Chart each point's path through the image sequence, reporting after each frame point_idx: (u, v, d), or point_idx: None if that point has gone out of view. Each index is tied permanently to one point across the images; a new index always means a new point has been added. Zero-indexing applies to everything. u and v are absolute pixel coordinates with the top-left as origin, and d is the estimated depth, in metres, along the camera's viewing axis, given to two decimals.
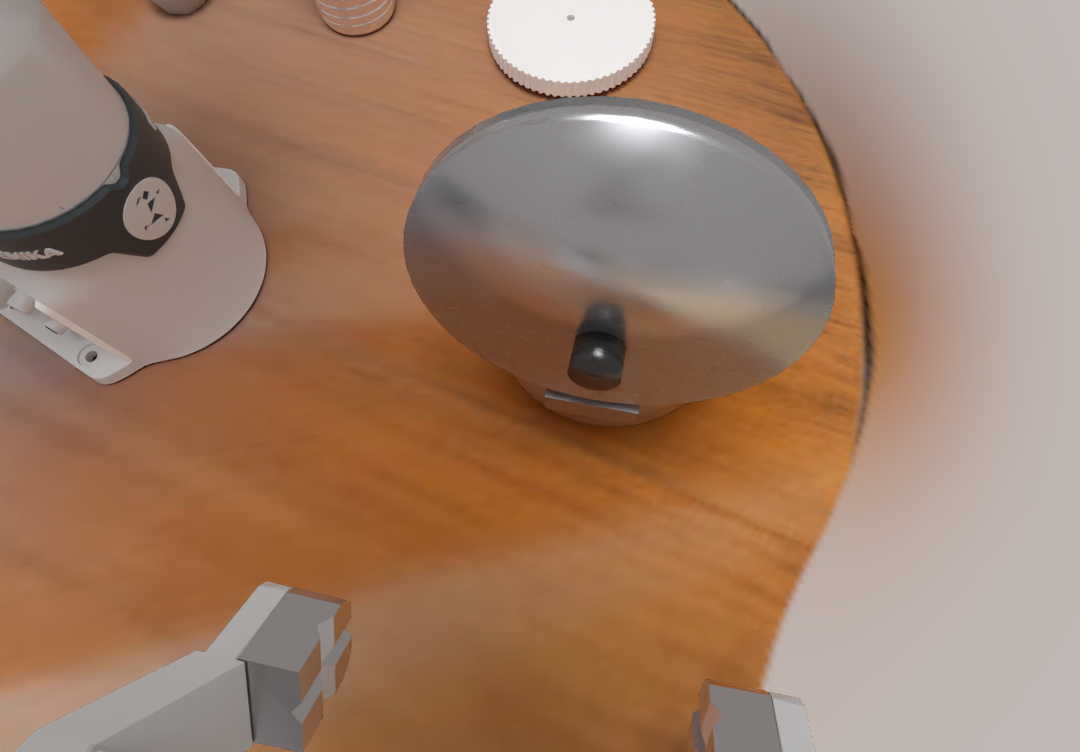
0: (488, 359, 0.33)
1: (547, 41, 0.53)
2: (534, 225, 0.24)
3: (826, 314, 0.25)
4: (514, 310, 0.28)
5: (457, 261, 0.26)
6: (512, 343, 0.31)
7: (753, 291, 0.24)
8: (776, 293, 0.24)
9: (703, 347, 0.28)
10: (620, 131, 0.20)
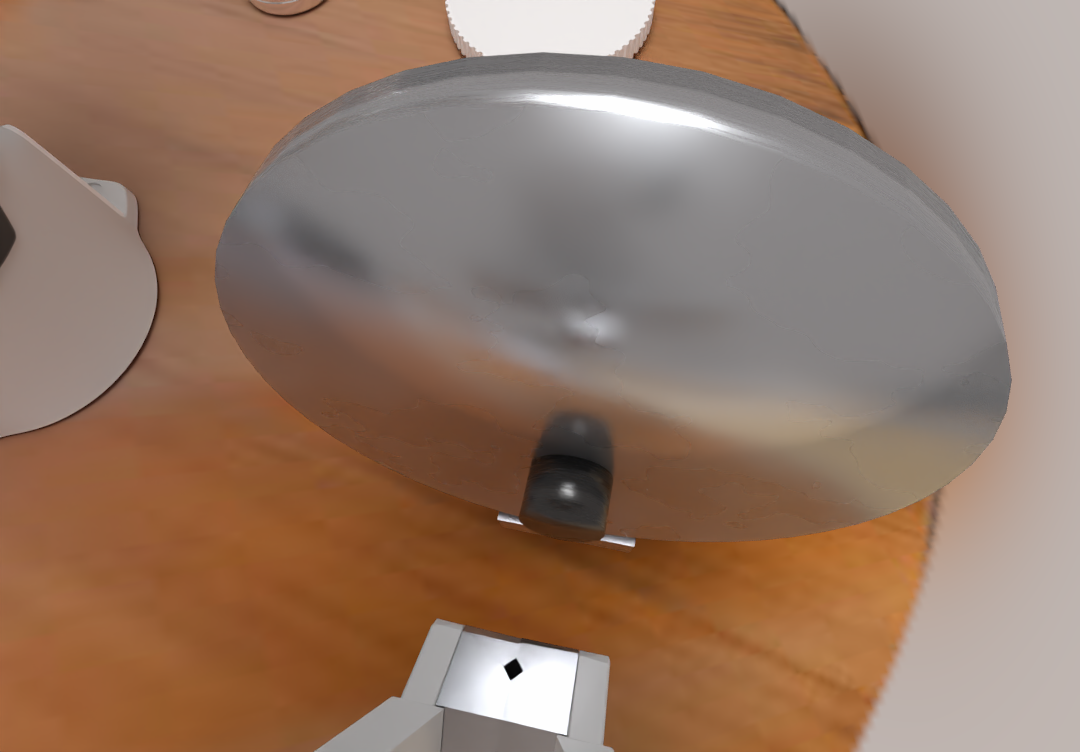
0: (408, 475, 0.22)
1: (520, 20, 0.43)
2: (436, 305, 0.13)
3: (969, 458, 0.14)
4: (431, 422, 0.18)
5: (321, 353, 0.15)
6: (438, 460, 0.20)
7: (840, 419, 0.13)
8: (882, 425, 0.13)
9: (739, 484, 0.17)
10: (584, 129, 0.09)
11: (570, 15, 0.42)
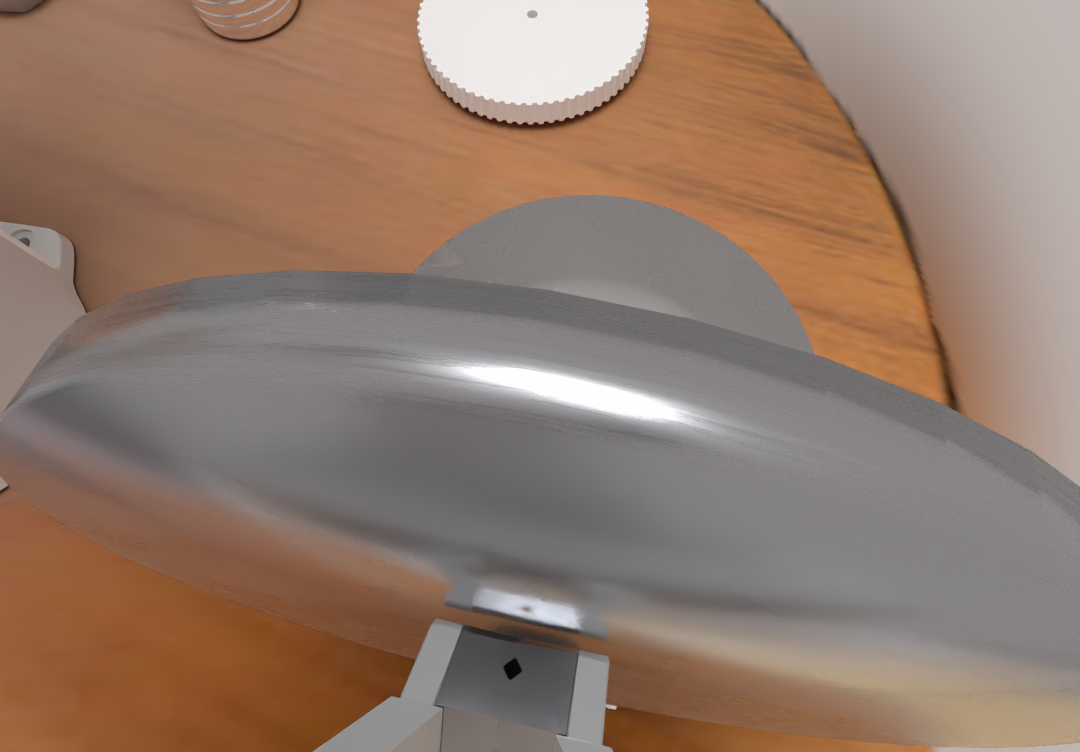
0: (338, 636, 0.18)
1: (499, 47, 0.39)
2: (313, 546, 0.09)
3: (1067, 740, 0.10)
4: (348, 613, 0.14)
5: (186, 556, 0.12)
6: (368, 634, 0.16)
7: (889, 693, 0.09)
8: (948, 705, 0.09)
9: (743, 702, 0.13)
10: (472, 436, 0.05)
11: (554, 42, 0.39)
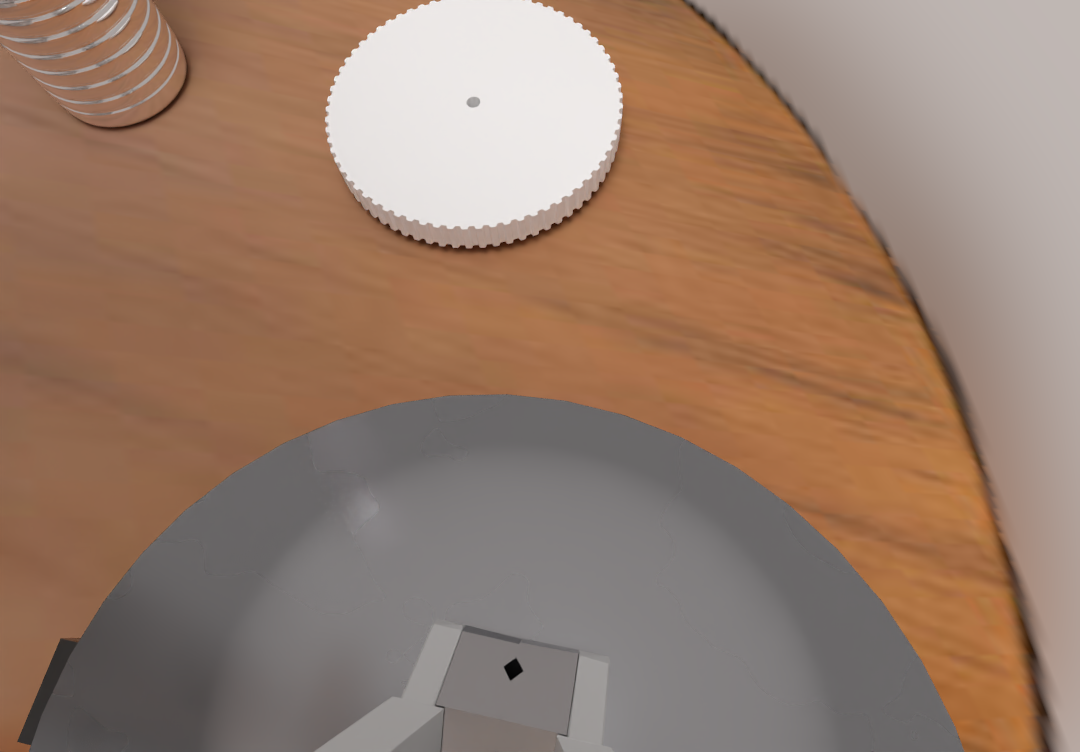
0: None
1: (429, 147, 0.30)
2: (355, 634, 0.12)
3: None
4: None
5: None
6: None
7: None
8: None
9: None
10: (546, 413, 0.12)
11: (500, 141, 0.30)
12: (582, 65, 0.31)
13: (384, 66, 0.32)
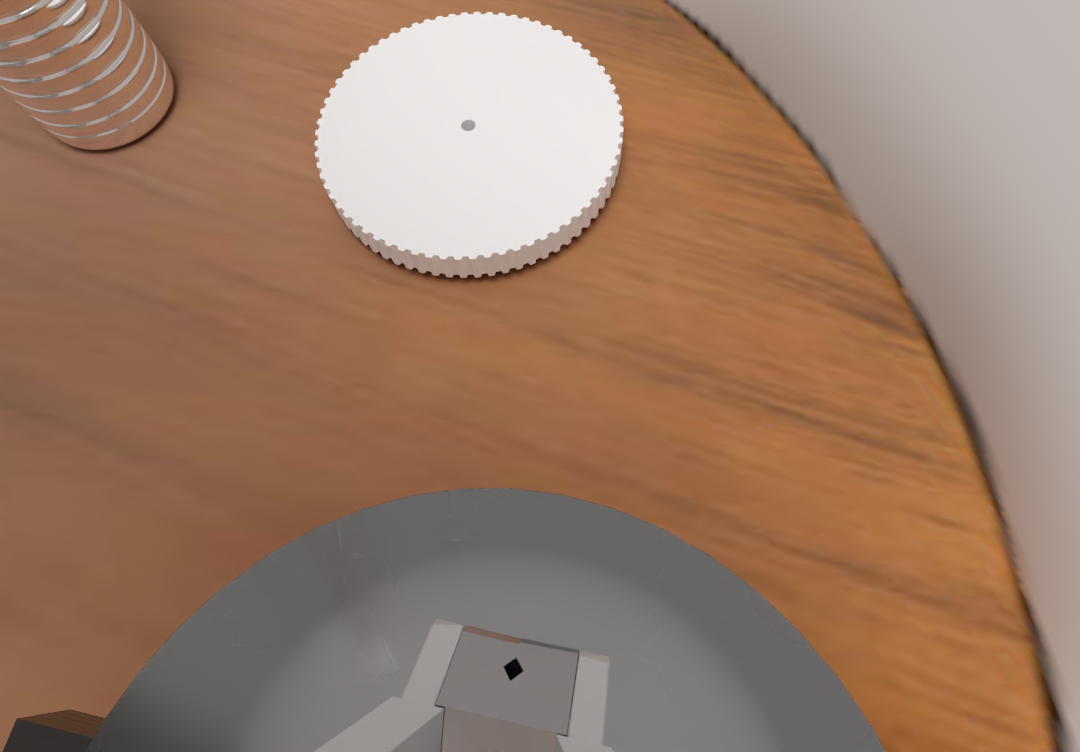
0: None
1: (422, 173, 0.29)
2: (370, 704, 0.13)
3: None
4: None
5: None
6: None
7: None
8: None
9: None
10: (545, 505, 0.14)
11: (496, 166, 0.29)
12: (582, 86, 0.30)
13: (376, 87, 0.31)
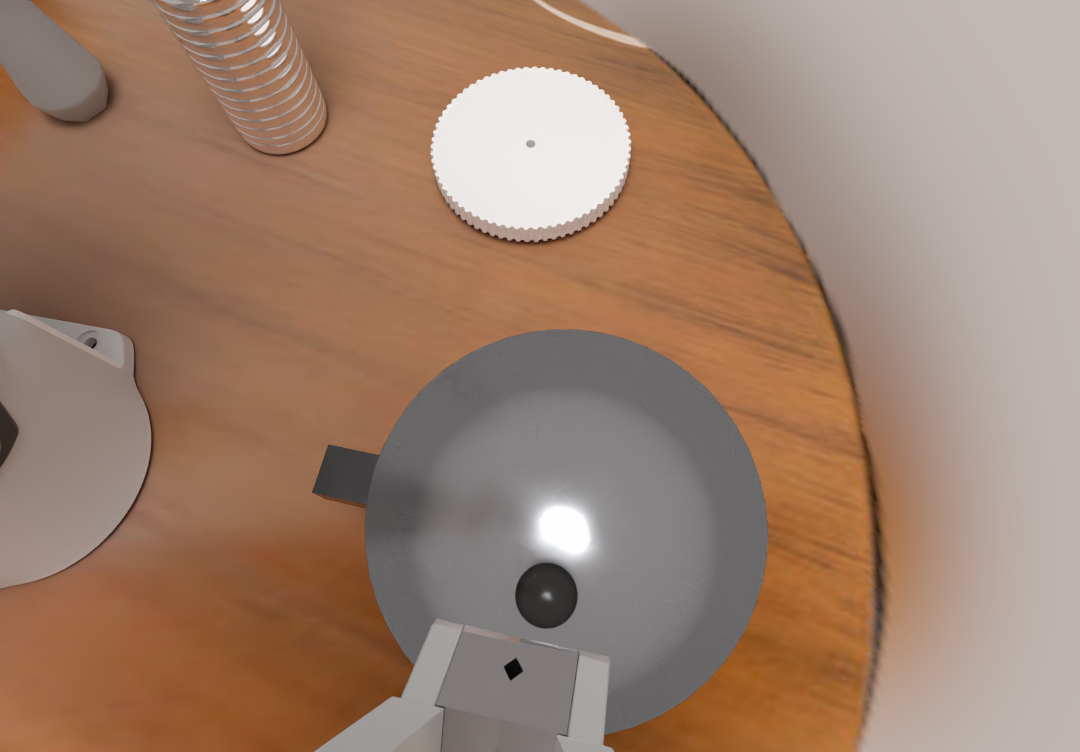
0: (400, 639, 0.26)
1: (502, 174, 0.45)
2: (515, 417, 0.29)
3: (764, 522, 0.27)
4: (464, 534, 0.27)
5: (429, 461, 0.29)
6: (444, 599, 0.27)
7: (697, 492, 0.28)
8: (716, 494, 0.28)
9: (659, 586, 0.26)
10: (592, 337, 0.30)
11: (549, 170, 0.45)
12: (604, 119, 0.46)
13: (469, 117, 0.47)
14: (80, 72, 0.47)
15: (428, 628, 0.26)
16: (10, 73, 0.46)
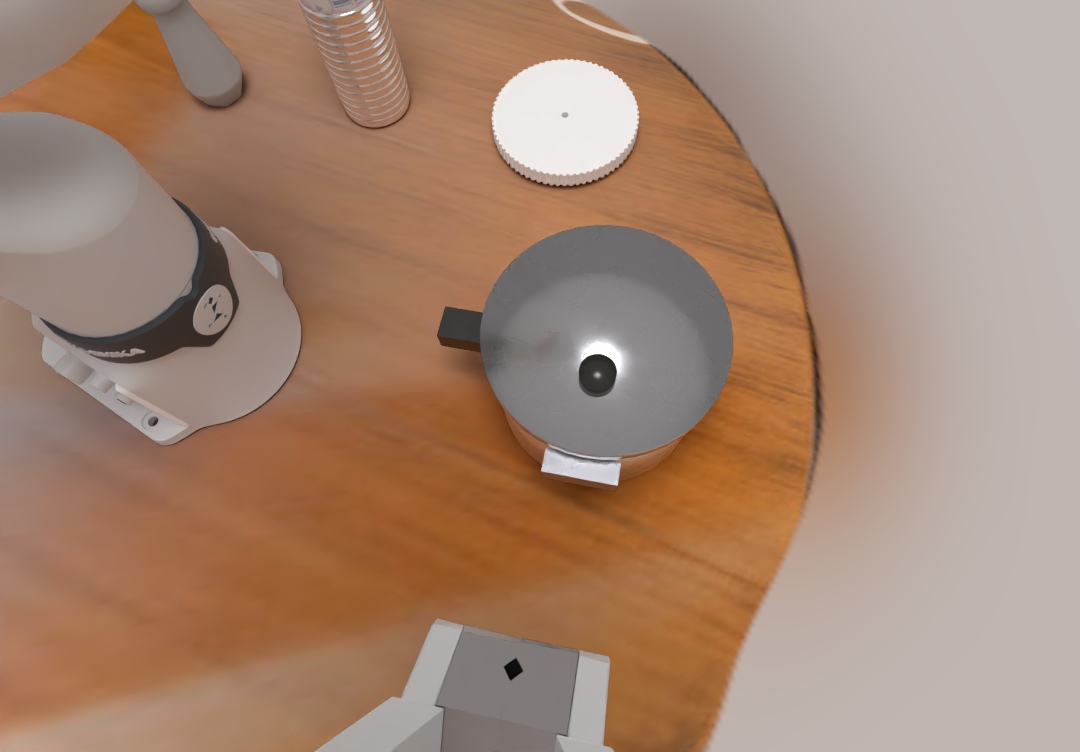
0: (507, 405, 0.42)
1: (545, 137, 0.61)
2: (571, 278, 0.46)
3: (730, 335, 0.44)
4: (543, 346, 0.44)
5: (518, 305, 0.45)
6: (532, 383, 0.43)
7: (688, 319, 0.44)
8: (700, 320, 0.44)
9: (666, 372, 0.43)
10: (619, 229, 0.47)
11: (579, 134, 0.61)
12: (619, 96, 0.63)
13: (519, 96, 0.63)
14: (229, 68, 0.64)
15: (524, 399, 0.42)
16: (182, 69, 0.62)
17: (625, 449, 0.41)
